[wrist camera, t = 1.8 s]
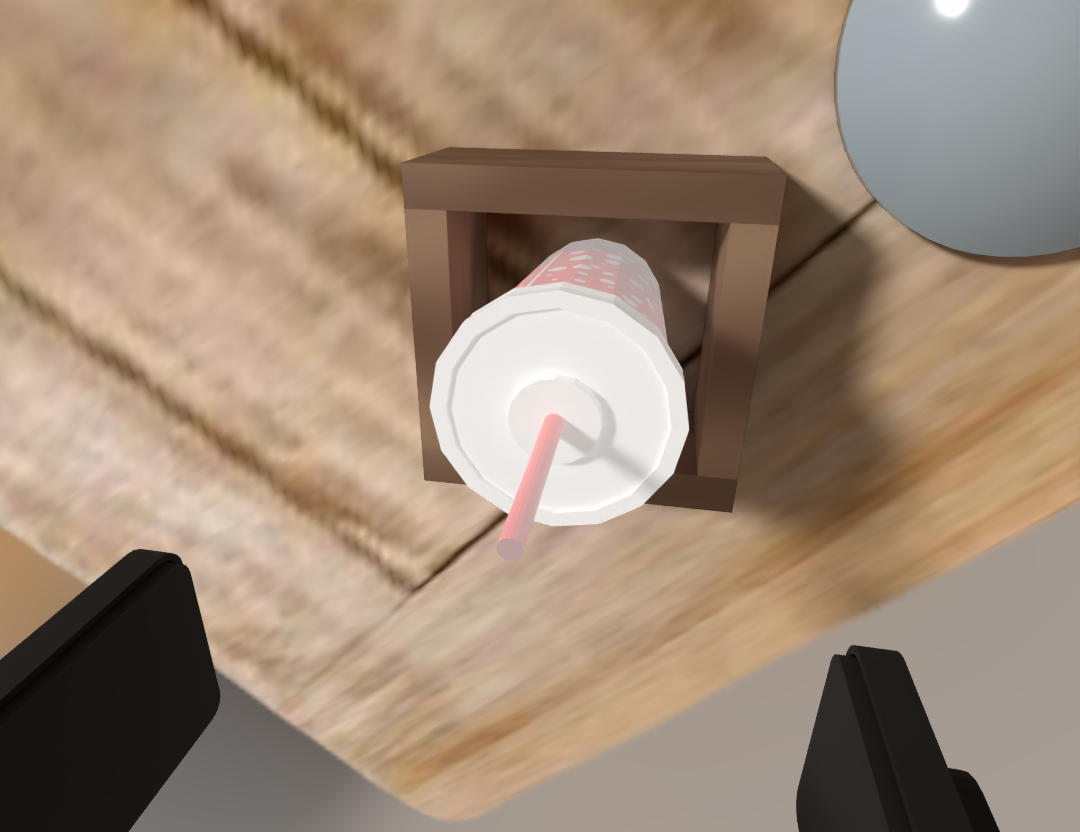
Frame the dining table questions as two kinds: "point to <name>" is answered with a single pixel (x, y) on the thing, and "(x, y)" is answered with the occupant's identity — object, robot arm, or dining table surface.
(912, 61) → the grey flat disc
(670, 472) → the beverage cup
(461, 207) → the square wooden frame
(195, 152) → the dining table surface
